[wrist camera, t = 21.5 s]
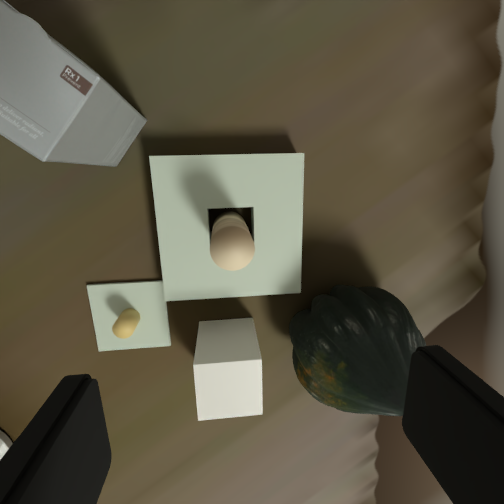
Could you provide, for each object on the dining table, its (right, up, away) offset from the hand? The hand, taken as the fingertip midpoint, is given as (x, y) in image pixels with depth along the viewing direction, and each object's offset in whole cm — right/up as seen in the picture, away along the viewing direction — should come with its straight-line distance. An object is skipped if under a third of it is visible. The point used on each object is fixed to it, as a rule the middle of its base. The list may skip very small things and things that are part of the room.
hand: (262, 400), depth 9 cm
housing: (-4, -8, +31) cm, 33 cm away
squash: (+11, -5, +32) cm, 35 cm away
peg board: (-3, +8, +27) cm, 28 cm away
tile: (-16, -4, +29) cm, 33 cm away
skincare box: (-16, +19, +23) cm, 34 cm away
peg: (-3, +7, +27) cm, 28 cm away
